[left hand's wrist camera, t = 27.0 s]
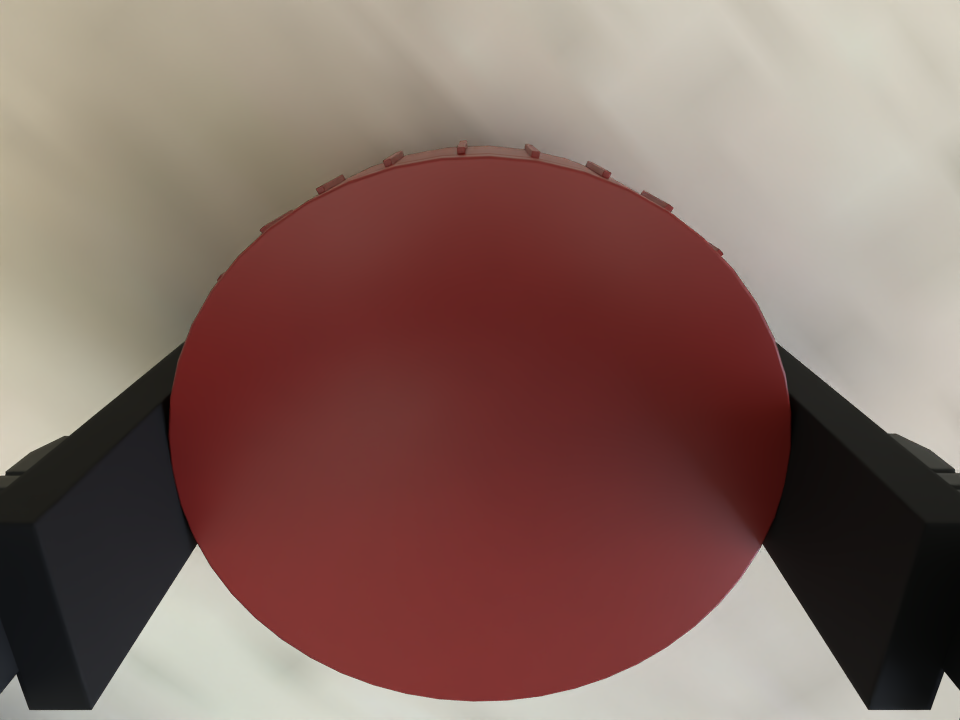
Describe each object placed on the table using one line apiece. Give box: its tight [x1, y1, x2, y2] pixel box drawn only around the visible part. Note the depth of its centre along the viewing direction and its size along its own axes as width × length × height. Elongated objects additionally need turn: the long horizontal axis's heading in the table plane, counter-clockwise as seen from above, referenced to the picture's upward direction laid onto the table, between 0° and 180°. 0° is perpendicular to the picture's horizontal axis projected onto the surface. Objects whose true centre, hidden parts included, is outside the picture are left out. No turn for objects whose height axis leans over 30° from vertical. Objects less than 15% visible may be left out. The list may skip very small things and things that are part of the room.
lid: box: [168, 141, 791, 701], centre depth 11 cm, size 10×10×2 cm
